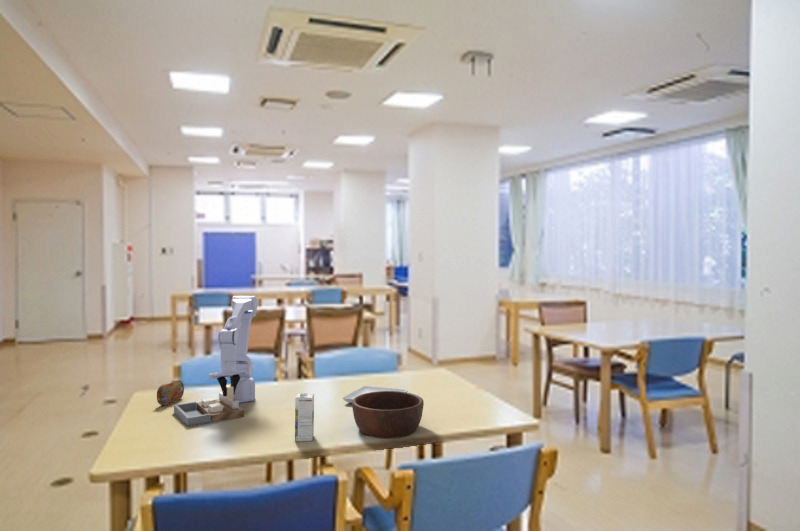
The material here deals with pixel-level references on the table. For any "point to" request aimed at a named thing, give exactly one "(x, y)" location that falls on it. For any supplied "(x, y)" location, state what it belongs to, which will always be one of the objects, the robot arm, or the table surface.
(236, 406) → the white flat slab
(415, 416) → the wooden bowl
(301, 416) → the syrup box
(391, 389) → the salad plate
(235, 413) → the board
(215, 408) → the tile
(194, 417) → the box
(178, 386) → the tin
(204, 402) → the tile
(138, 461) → the table surface
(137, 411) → the table surface
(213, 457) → the table surface
